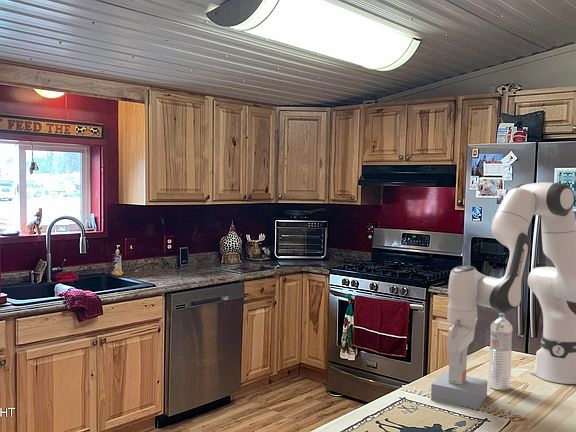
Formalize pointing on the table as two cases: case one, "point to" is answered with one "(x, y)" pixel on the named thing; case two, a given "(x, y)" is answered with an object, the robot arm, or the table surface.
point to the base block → (459, 391)
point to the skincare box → (458, 368)
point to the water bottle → (500, 354)
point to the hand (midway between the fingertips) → (460, 361)
